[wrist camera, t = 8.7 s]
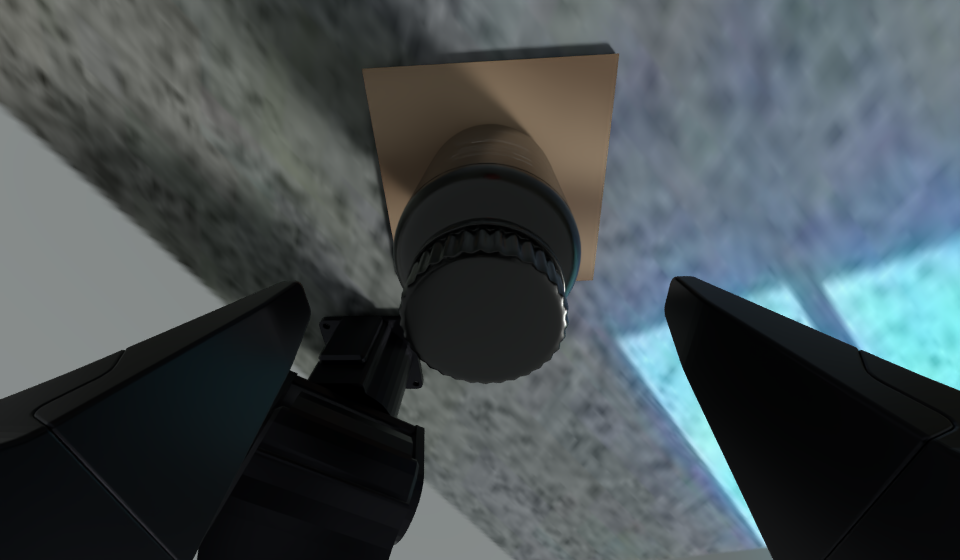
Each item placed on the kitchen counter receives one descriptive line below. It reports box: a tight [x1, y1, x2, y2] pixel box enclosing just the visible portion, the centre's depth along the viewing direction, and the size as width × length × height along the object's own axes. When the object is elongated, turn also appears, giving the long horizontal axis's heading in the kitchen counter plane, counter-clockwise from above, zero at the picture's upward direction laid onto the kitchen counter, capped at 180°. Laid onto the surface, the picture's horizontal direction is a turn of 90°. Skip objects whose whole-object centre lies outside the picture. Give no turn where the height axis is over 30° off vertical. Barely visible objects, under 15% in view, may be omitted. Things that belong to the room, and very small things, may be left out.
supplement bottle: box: [393, 124, 581, 384], centre depth 16 cm, size 7×7×12 cm
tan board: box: [362, 54, 619, 281], centre depth 21 cm, size 12×12×1 cm
